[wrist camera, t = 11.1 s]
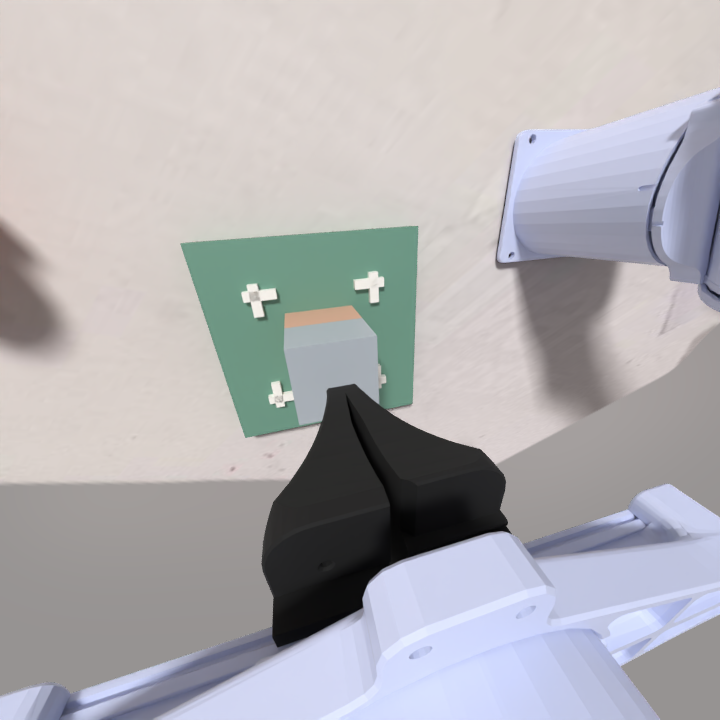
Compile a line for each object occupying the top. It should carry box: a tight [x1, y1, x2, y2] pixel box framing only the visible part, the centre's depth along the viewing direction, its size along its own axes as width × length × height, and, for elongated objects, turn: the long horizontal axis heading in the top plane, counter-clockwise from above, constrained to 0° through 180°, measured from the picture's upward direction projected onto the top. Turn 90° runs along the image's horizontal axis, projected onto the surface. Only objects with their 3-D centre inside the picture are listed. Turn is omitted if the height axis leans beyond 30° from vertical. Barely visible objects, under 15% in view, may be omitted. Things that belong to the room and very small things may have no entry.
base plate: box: [181, 226, 418, 438], centre depth 20 cm, size 14×14×2 cm
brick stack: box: [284, 305, 379, 425], centre depth 16 cm, size 4×4×6 cm
